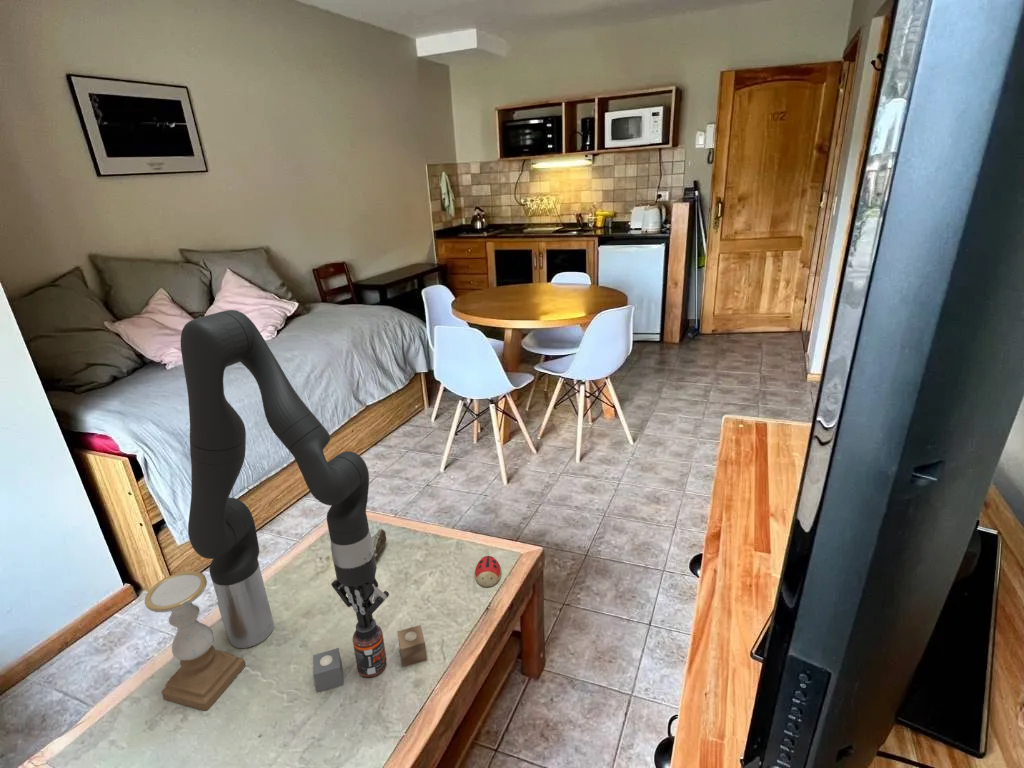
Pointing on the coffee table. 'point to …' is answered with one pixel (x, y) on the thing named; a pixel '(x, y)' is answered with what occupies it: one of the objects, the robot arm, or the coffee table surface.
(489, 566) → the ladybug figurine
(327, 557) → the coffee table surface
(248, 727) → the coffee table surface
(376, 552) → the rock sample
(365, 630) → the supplement bottle
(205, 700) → the candle holder
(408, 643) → the walnut dotted block
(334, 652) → the charcoal dotted block
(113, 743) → the coffee table surface
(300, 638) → the coffee table surface
